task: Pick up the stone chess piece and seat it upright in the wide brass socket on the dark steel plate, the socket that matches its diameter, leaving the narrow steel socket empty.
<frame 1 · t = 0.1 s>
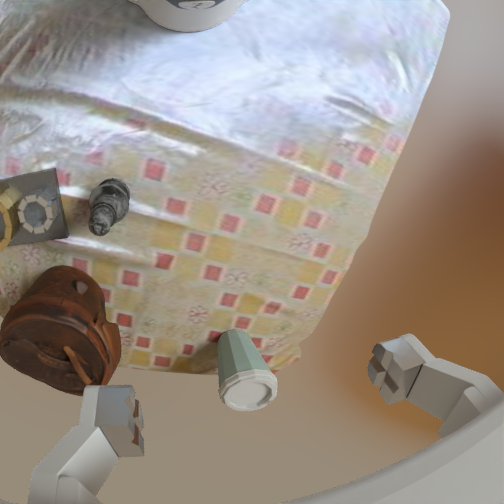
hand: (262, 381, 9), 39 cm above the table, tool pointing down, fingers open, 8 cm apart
stone chess piece: (113, 195, 43), on the table
case: (73, 294, 49), on the table
disposable coffee cup: (233, 338, 63), on the table
socket plate: (13, 210, 39), on the table
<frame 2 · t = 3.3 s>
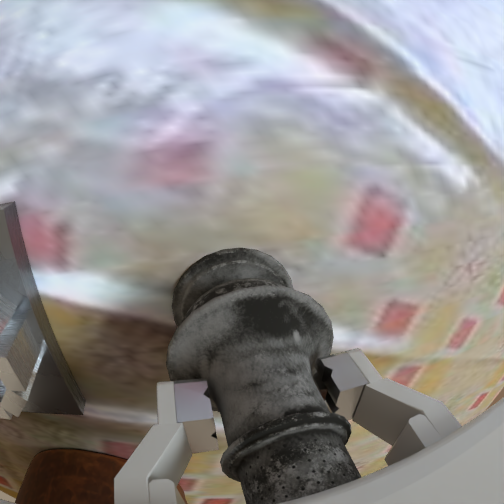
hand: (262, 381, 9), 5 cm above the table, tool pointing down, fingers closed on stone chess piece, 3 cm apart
stone chess piece: (233, 302, 14), on the table, touching gripper
case: (110, 482, 19), on the table
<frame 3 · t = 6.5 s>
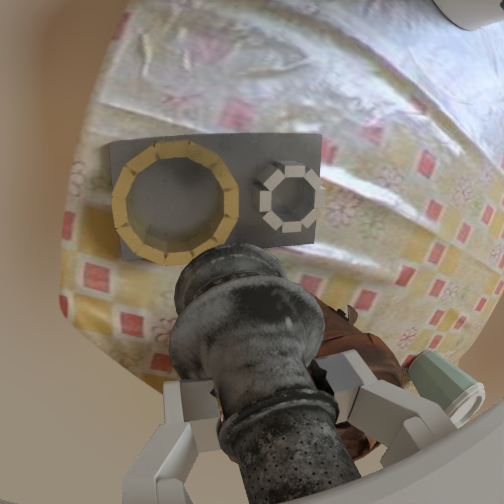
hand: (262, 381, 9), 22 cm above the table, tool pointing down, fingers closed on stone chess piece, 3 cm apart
stone chess piece: (231, 294, 15), point 16 cm above the table, touching gripper
case: (279, 329, 38), on the table
disposable coffee cup: (421, 360, 50), on the table
socket plate: (218, 192, 29), on the table
when the fingers open (7 cm above the table, at t = 9.2 s): stone chess piece stays where it is, resting on socket plate.
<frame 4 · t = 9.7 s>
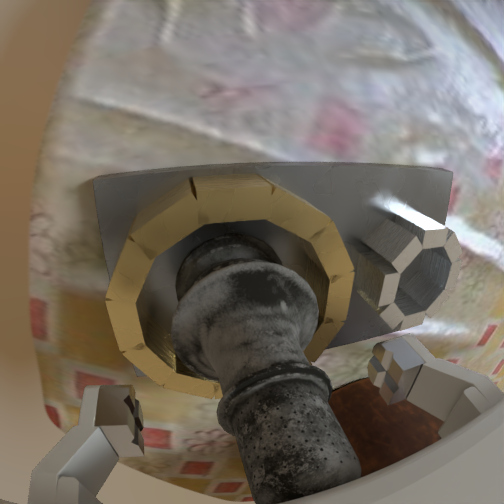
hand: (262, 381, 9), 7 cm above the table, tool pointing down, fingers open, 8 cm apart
stone chess piece: (230, 283, 15), point 1 cm above the table, touching socket plate
case: (349, 419, 26), on the table
socket plate: (299, 266, 17), on the table
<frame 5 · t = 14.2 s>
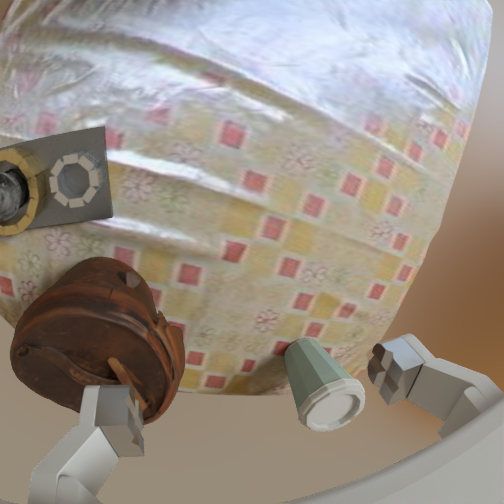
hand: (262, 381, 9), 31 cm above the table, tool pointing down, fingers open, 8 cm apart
stone chess piece: (13, 189, 30), point 1 cm above the table, touching socket plate
case: (110, 297, 41), on the table
disposable coffee cup: (301, 349, 53), on the table
socket plate: (39, 182, 32), on the table
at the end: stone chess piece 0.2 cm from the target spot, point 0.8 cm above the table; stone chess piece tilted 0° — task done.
